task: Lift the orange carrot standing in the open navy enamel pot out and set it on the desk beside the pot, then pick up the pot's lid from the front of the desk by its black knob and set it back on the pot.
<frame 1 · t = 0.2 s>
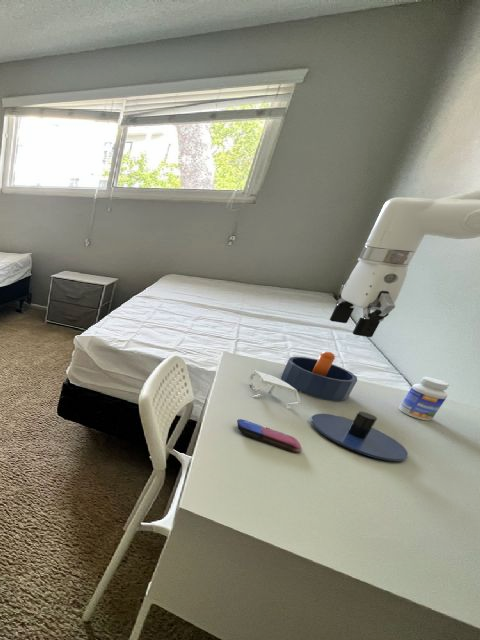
hand: (349, 328, 82), 20 cm above the table, tool pointing down, fingers open, 9 cm apart
carrot: (313, 385, 96), resting on pot
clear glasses: (268, 398, 90), on the table
eraser: (265, 440, 74), on the table
pill bottle: (414, 415, 87), on the table
pot: (312, 387, 97), on the table
pot lid: (355, 436, 76), point 1 cm above the table
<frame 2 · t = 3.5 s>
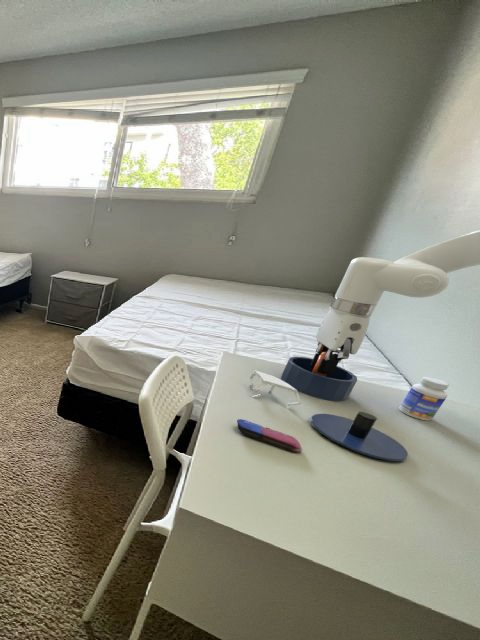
hand: (320, 369, 95), 5 cm above the table, tool pointing down, fingers closed on carrot, 2 cm apart
carrot: (313, 385, 96), resting on pot, touching gripper
everything else where it was.
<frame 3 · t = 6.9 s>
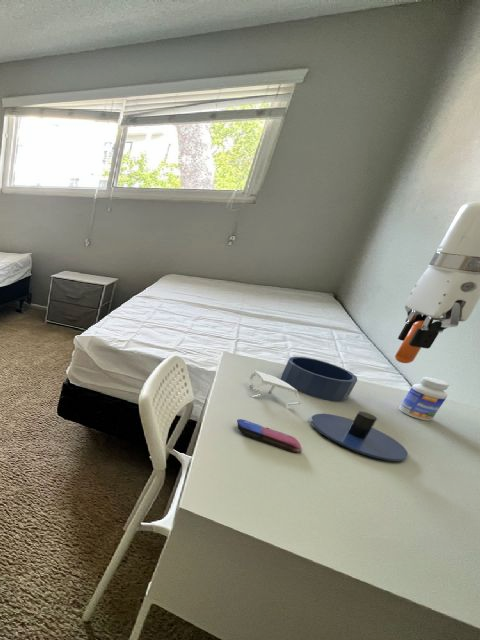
hand: (413, 343, 79), 19 cm above the table, tool pointing down, fingers closed on carrot, 2 cm apart
carrot: (401, 362, 80), point 14 cm above the table, touching gripper
everything else where it was.
when the fingers open (5 cm above the table, at t = 10.4 s): carrot moves 2 cm and tips over, point 1 cm above the table.
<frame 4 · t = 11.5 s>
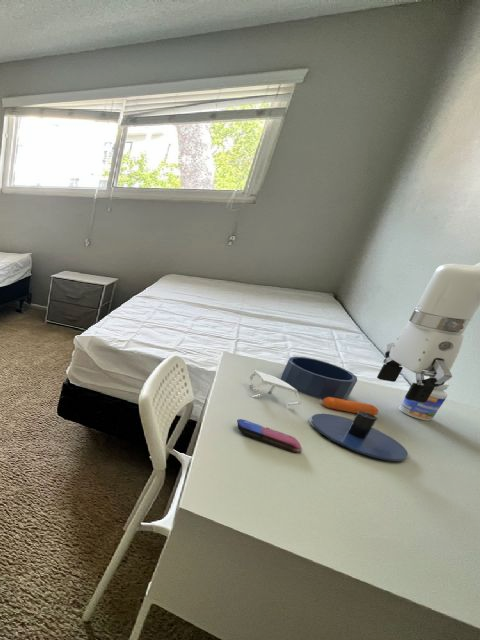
hand: (399, 389, 81), 8 cm above the table, tool pointing down, fingers open, 9 cm apart
carrot: (376, 411, 84), point 1 cm above the table, tilted 90°
everything else where it was.
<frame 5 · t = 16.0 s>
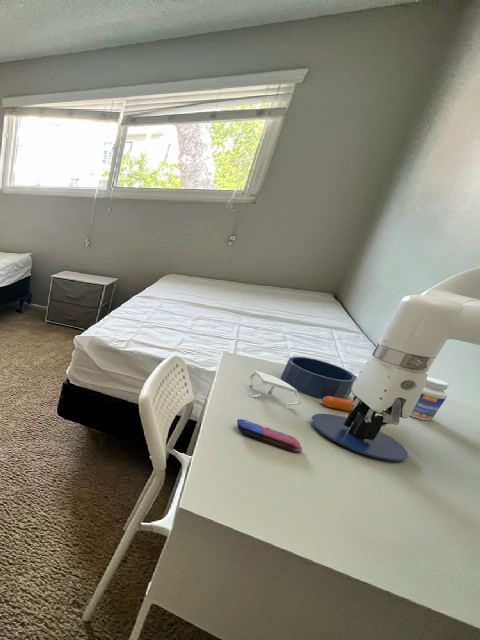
hand: (358, 431, 75), 2 cm above the table, tool pointing down, fingers closed on pot lid, 2 cm apart
pot lid: (355, 436, 76), point 1 cm above the table, touching gripper
everything else where it was.
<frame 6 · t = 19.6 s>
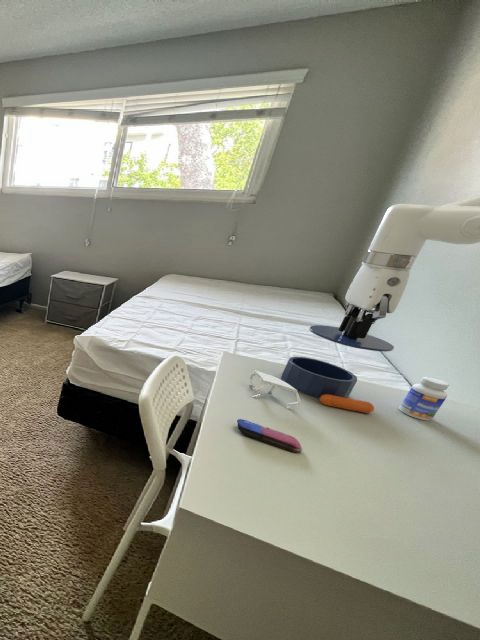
hand: (351, 333, 86), 18 cm above the table, tool pointing down, fingers closed on pot lid, 2 cm apart
pot lid: (348, 338, 86), point 17 cm above the table, touching gripper
when the fingers open (7 cm above the table, at t = 22.9 s): pot lid stays where it is, resting on pot.
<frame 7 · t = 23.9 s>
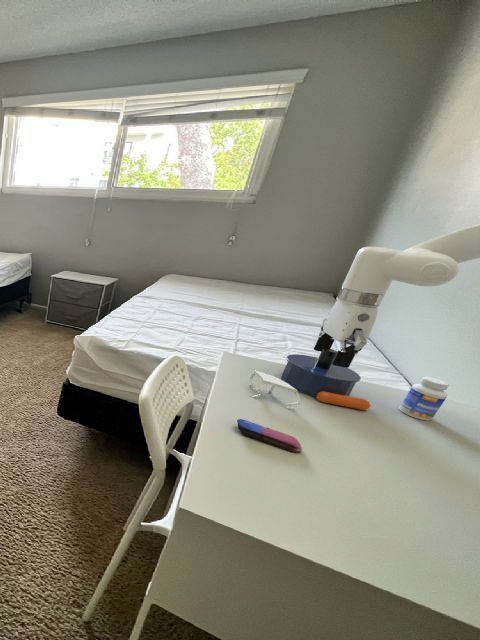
hand: (329, 358, 93), 9 cm above the table, tool pointing down, fingers open, 9 cm apart
carrot: (368, 405, 87), point 1 cm above the table, tilted 90°
pot lid: (321, 368, 94), point 6 cm above the table, touching pot
everything else where it was.
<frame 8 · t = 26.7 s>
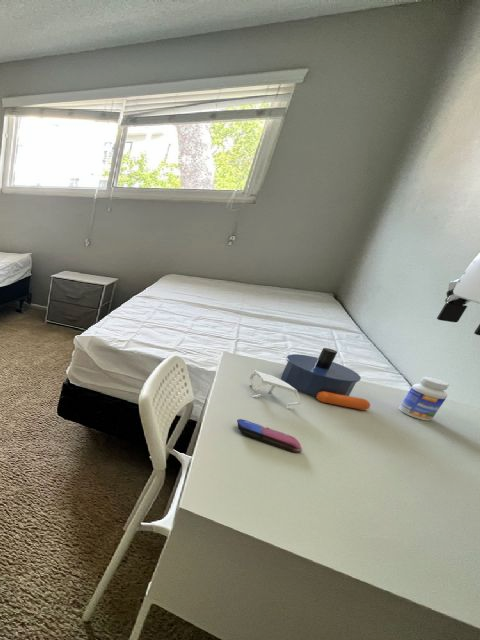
hand: (464, 327, 75), 24 cm above the table, tool pointing down, fingers open, 9 cm apart
nothing on the table moved.
at the end: carrot inside the target area (2.5 cm from its centre), point 1.4 cm above the table; pot lid 0.1 cm off-centre on the pot, point 6.0 cm above the pot's base; pot lid tilted 0° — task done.
